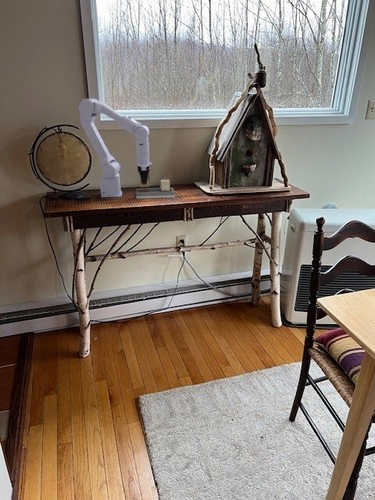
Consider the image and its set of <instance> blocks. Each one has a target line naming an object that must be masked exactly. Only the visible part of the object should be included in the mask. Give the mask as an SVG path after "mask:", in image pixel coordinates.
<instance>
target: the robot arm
mask: <svg viewBox="0 0 375 500" xmlns="http://www.w3.org/2000/svg"><path fill="white" fill-rule="evenodd" d="M78 111H79V120H80V121H79V122H80V125H81V127H82V128H83V129H82V130H83V131H84V133H85V134H86V136H87V138H88V140H89V141H90V144H91V146H92V147H93V149H94V152H95V153H96V155H97V157H98V159H99V165H100V167H101V173H102V175H103V176H101V177H99V178H100V179H99V187H100V195H101V197H100V198H120V197H122V196H123V191H122V189H121V179H120V172H121V167H122V166H121V164H120V163H119V162H118V161H117V160H116V159H115V157H114V156H113V155H112V154H111V153H110V151H109V150H108V148H107V146H106V144H105V142H104V140H103V138H102V136H101V135H100V132H99V131H98V128H97V127H96V124H95V123H94V121H95V119H96V116H97V115H98V114H99V115H100V114H102V115H105V116H107V117H109V118H110V119H112V120H114V121H115V122H116V123H119V126H120V128H122V130H125V131H127V133H130V134H131V135H134V138H135V145H136V147H135V148H136V151H135V152H136V166H137V172H138V174H139V178H140V177H141V182H142V184H147V178H148V174H149V175H150V171H151V169H150V165H153V162H152V161H151V162H150V143H149V136H150V129H149V127H148V126H147V125H146V124H142V122H138V121H136V120H135V119H133V117H132V116H131V115H122V114H120V113H119V112H117V110H114V109H113V108H111V107H110V106H108V104H106V103H104V102H103V101H100V100H98V99H97V98H95V97H93V98H83V99H82V100H81V101H80V102H79V106H78Z"/></svg>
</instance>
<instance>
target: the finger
mask: <svg viewBox="0 0 375 500" xmlns="http://www.w3.org/2000/svg"><path fill="white" fill-rule="evenodd" d="M150 181H151V180H150V173H149V174H148V178H147V184H142V182H141V177H140V176H139V186H140V188H144V187H145V188H146V187H147V188H148V187H150V183H151V182H150Z"/></svg>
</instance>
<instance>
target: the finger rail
mask: <svg viewBox="0 0 375 500" xmlns="http://www.w3.org/2000/svg"><path fill="white" fill-rule="evenodd" d="M135 196H136V200H139V199H140V200H141V199H168V198H169V199H171V198H172V199H173V198H174V199H175V189H174V188H173V187H171V183H170V179H160V181H159V187H157V188H156V187H155V188H153V187H152V188H148V187H147V188H136V189H135Z"/></svg>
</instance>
